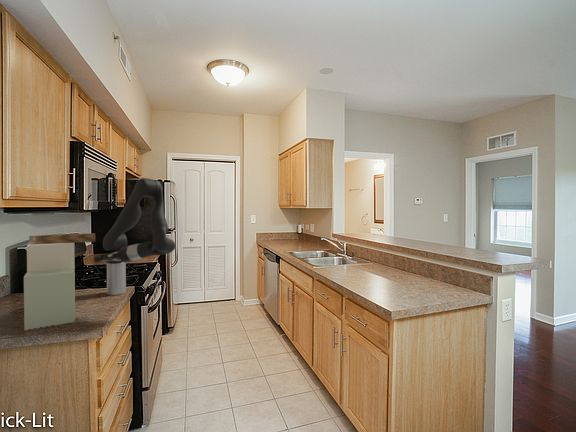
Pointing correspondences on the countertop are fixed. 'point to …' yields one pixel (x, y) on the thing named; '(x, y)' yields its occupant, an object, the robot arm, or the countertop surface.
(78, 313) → the countertop surface
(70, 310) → the stepped stand
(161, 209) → the robot arm
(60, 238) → the walnut block
